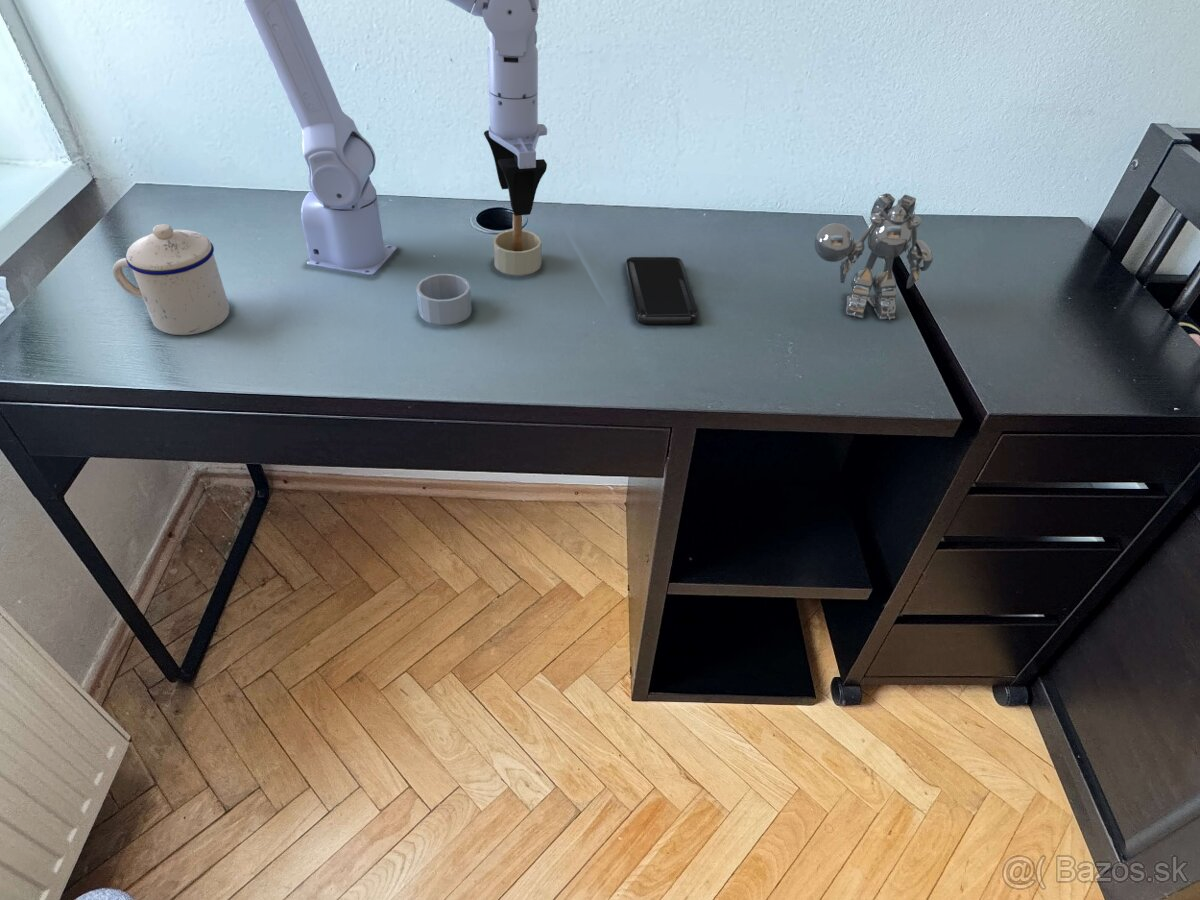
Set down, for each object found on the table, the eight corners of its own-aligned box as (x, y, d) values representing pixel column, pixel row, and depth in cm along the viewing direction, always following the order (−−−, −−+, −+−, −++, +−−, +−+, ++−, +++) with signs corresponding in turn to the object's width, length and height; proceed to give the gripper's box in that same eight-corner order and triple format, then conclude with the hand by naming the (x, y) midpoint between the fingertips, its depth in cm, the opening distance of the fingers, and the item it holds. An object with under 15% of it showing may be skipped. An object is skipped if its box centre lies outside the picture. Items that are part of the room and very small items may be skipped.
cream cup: (487, 273, 108) (486, 248, 105) (502, 251, 112) (501, 226, 110) (533, 281, 107) (533, 255, 104) (546, 258, 111) (546, 233, 109)
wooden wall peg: (508, 268, 108) (506, 216, 103) (504, 260, 110) (503, 209, 105) (531, 265, 109) (531, 214, 104) (527, 257, 110) (527, 207, 105)
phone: (638, 316, 99) (625, 256, 110) (637, 324, 100) (625, 264, 111) (700, 316, 100) (682, 257, 111) (699, 324, 101) (681, 264, 112)
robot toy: (802, 315, 104) (830, 206, 94) (796, 290, 108) (823, 184, 98) (916, 323, 104) (957, 215, 94) (905, 298, 108) (943, 192, 98)
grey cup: (411, 323, 98) (408, 296, 96) (431, 296, 103) (428, 270, 100) (461, 331, 97) (459, 304, 95) (478, 304, 102) (477, 278, 99)
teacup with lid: (243, 298, 100) (218, 211, 92) (215, 340, 93) (185, 249, 86) (147, 292, 100) (114, 204, 92) (112, 333, 93) (72, 242, 85)
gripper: (562, 111, 90) (559, 223, 99) (532, 69, 100) (532, 174, 109) (500, 114, 88) (503, 228, 97) (476, 71, 98) (481, 178, 107)
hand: (515, 200), depth 103 cm, fingers open, 7 cm apart
